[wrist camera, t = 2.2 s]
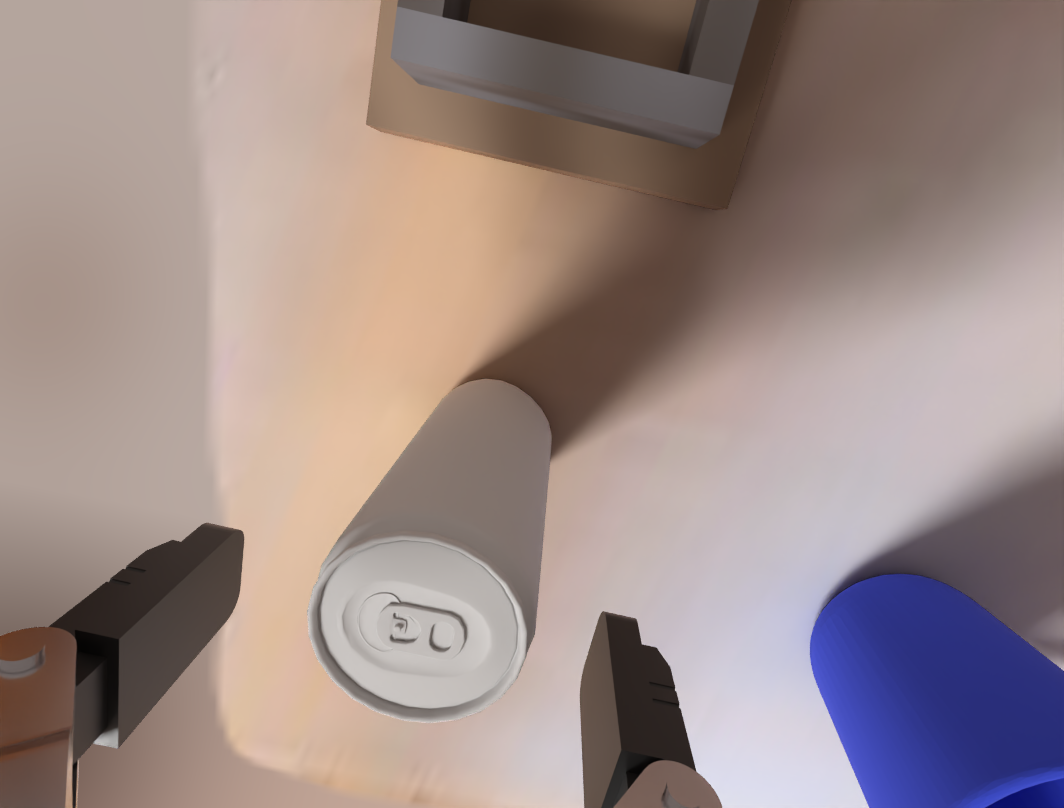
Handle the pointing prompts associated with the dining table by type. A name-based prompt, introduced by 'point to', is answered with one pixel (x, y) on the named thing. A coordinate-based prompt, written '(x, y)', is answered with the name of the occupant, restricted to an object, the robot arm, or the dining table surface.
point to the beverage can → (441, 563)
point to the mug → (938, 699)
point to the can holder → (582, 85)
